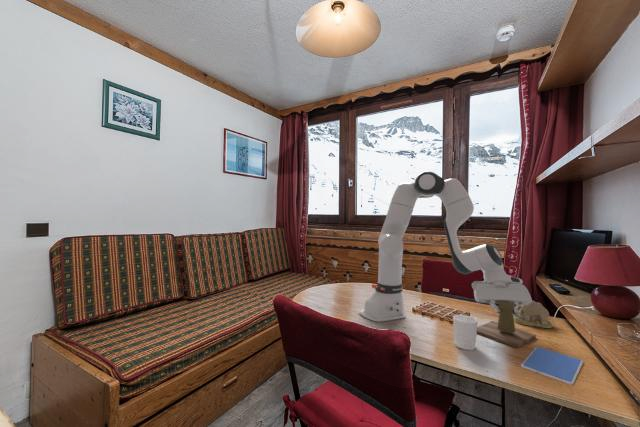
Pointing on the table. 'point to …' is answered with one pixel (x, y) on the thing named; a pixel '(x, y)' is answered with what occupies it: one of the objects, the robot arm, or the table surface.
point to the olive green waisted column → (506, 317)
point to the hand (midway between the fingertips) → (507, 313)
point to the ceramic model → (533, 315)
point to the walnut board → (505, 335)
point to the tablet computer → (553, 365)
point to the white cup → (465, 331)
